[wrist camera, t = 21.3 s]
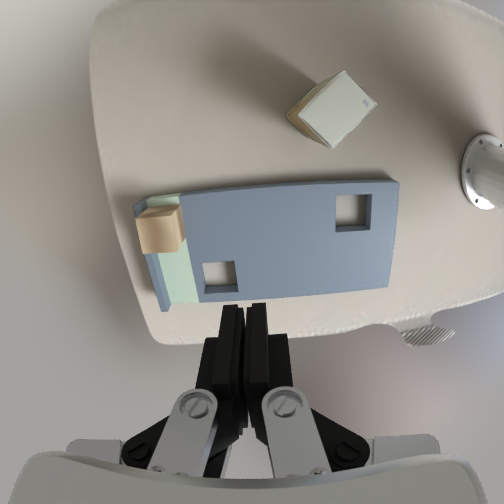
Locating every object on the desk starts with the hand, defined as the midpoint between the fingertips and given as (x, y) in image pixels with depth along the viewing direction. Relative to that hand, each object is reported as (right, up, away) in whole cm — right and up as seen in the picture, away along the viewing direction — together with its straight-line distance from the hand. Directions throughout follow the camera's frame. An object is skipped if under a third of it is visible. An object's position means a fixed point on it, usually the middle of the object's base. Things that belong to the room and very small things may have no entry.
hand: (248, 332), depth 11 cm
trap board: (+3, +5, +28) cm, 28 cm away
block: (-11, +7, +25) cm, 28 cm away
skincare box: (+8, +21, +20) cm, 30 cm away
